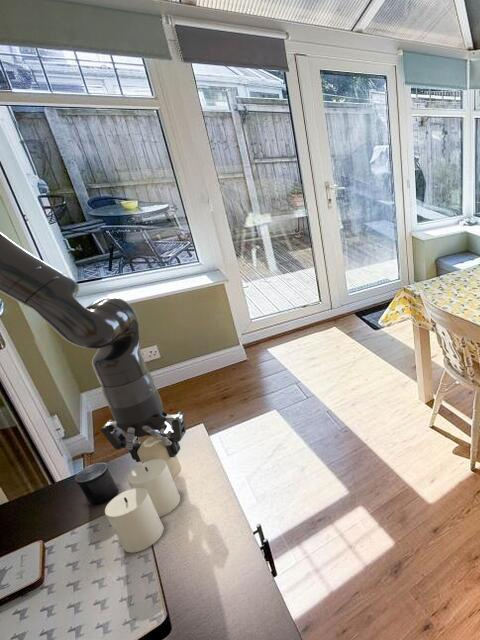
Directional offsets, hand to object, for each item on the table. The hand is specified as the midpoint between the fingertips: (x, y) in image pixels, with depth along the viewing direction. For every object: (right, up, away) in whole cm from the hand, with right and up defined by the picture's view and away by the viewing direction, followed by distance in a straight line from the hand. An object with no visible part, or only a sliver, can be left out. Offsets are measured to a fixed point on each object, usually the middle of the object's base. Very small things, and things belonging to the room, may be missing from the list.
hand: (158, 456), depth 89 cm
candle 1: (0, -5, +2) cm, 6 cm away
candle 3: (+5, -12, -9) cm, 16 cm away
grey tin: (-10, -8, -1) cm, 13 cm away
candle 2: (+3, -9, -3) cm, 10 cm away
